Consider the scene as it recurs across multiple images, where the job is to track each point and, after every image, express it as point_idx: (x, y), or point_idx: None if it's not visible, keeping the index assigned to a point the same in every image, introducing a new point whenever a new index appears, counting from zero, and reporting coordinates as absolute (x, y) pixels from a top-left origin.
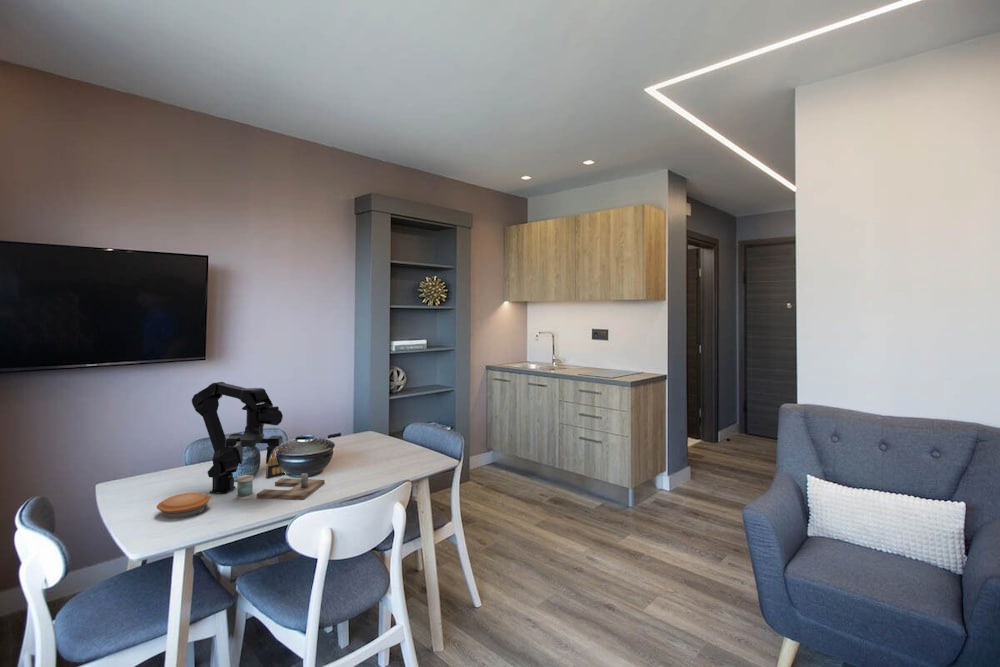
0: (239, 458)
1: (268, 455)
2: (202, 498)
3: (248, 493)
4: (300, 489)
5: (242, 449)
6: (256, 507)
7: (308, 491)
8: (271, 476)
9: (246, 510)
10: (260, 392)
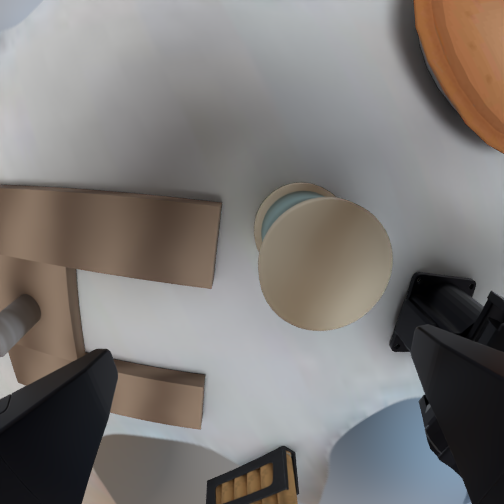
0: (470, 351)
1: (16, 399)
2: (449, 20)
3: (272, 208)
4: (25, 274)
5: (474, 498)
6: (159, 59)
7: None
8: (271, 455)
9: (196, 20)
10: None
